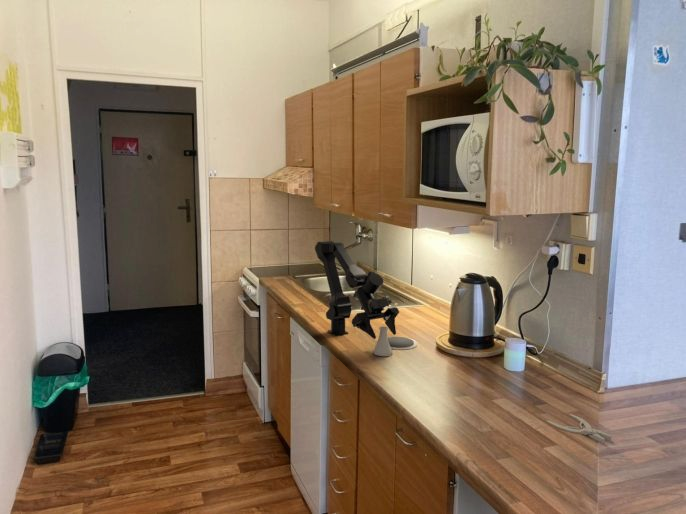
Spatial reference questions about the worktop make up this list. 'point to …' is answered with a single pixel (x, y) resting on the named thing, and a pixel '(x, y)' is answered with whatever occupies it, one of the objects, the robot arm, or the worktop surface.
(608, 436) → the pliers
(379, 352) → the flask
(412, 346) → the coaster
